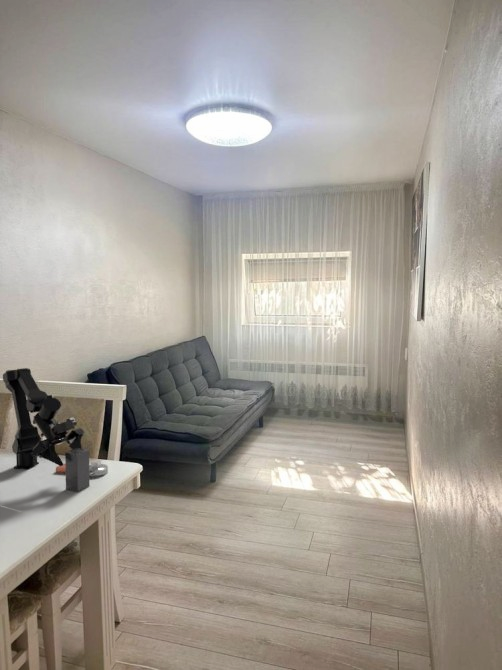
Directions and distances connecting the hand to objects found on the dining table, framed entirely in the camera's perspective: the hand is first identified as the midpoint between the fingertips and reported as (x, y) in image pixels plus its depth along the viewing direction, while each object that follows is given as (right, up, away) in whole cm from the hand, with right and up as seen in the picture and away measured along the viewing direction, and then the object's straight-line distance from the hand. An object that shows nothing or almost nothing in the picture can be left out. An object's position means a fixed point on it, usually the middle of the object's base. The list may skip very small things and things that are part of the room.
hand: (72, 460), depth 151 cm
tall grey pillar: (+2, -9, 0) cm, 9 cm away
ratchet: (-2, -8, +14) cm, 16 cm away
